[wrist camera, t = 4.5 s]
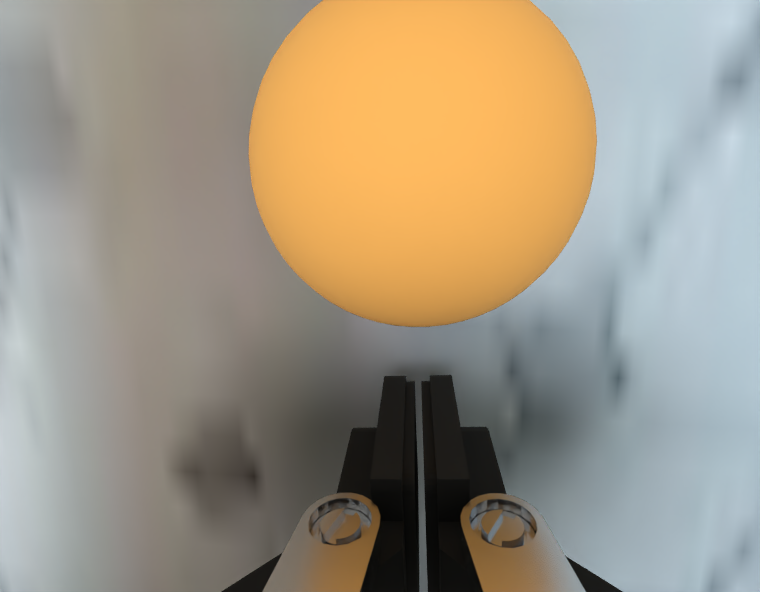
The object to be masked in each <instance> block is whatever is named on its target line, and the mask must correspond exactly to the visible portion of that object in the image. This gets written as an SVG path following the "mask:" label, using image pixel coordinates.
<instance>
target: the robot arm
mask: <svg viewBox="0 0 760 592" xmlns="http://www.w3.org/2000/svg"><path fill="white" fill-rule="evenodd" d="M421 385H422V416H423V448H424V480H425V512H426V544H427V575H428V592H622V591H621V590H619V589H617V588H616V587H614V586H613V585H611V584H609V583H608V582H606V581H605V580H603V579H601V578H600V577H598V576H597V575H595V574H593V573H592V572H590V571H588V570H587V569H585V568H584V567H582V566H580V565H579V564H577V563H576V562H574V561H572V560H571V559H569V558H568V557H566V556H565V555H564V553H563V551H562V549H561V548H560V546H559V544H558V542H557V541H556V539H555V537H554V535H553V534H552V532H551V530H550V528H549V527H548V525H547V523H546V521H545V520H544V518H543V517H542V515H541V514H540V513H539V512H538V510H537V509H536V508H535V507H533V506H532V505H531V504H529V503H528V502H526V501H524V500H522V499H520V498H518V497H515V496H511V495H507V494H506V491H505V488H504V484H503V480H502V477H501V473H500V470H499V466H498V463H497V459H496V455H495V452H494V448H493V445H492V441H491V437H490V434H489V431H488V428H487V427H460V421H459V416H458V410H457V404H456V399H455V393H454V387H453V382H452V376H451V375H433V376H430V381H421ZM222 592H419V514H418V464H417V436H416V408H415V382H406V376H385V377H384V383H383V390H382V397H381V404H380V411H379V418H378V425H377V428H353V429H352V432H351V436H350V440H349V444H348V448H347V452H346V457H345V461H344V465H343V469H342V474H341V478H340V482H339V486H338V491H337V493H336V494H331V495H328V496H325V497H323V498H321V499H319V500H317V501H316V502H314V503H313V504H312V505H310V506H309V507H308V508H307V510H306V511H305V512H304V514H303V515H302V517H301V519H300V521H299V523H298V524H297V526H296V528H295V530H294V532H293V534H292V536H291V538H290V540H289V542H288V544H287V546H286V547H285V549H284V551H283V553H282V554H280V555H278V556H277V557H275V558H274V559H272V560H271V561H269V562H267V563H266V564H264V565H263V566H261V567H259V568H258V569H256V570H255V571H253V572H252V573H250V574H248V575H247V576H245V577H244V578H242V579H241V580H239V581H237V582H236V583H234V584H233V585H231V586H230V587H228V588H226V589H225V590H223V591H222Z"/></svg>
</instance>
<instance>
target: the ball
mask: <svg viewBox="0 0 760 592" xmlns="http://www.w3.org/2000/svg"><path fill="white" fill-rule="evenodd" d="M596 144H597V136H596V120H595V113H594V108H593V104H592V99H591V94H590V91H589V87H588V84H587V82H586V79H585V76H584V74H583V71H582V68H581V66H580V63H579V61H578V59H577V57H576V55H575V54H574V52H573V50H572V48H571V47H570V45H569V43H568V41H567V40H566V38H565V37H564V36H563V35H562V33H561V32H560V31H559V30H558V28H557V27H556V26H555V24H554V23H553V22H552V21H551V19H549V18H548V17H547V16H546V15H545V14H544V13H543V12H542V11H541V10H540V9H538V8H537V7H536V6H535V5H534V4H533V3H532V2H531V1H530V0H323V1H321V2H320V3H319V4H318V5H317V6H315V7H314V8H313V9H312V10H311V11H309V12H308V13H307V14H306V15H305V17H304V18H303V19H302V20H301V21H300V22H299V23H298V24H297V25H296V27H295V28H294V29H293V30H292V31H291V32H290V33H289V34H288V36H287V37H286V38H285V40H284V41H283V43H282V44H281V46H280V47H279V49H278V50H277V52H276V53H275V55H274V56H273V58H272V60H271V62H270V64H269V67H268V69H267V71H266V73H265V75H264V77H263V79H262V82H261V85H260V88H259V92H258V95H257V98H256V101H255V105H254V109H253V114H252V120H251V127H250V133H249V163H250V172H251V181H252V187H253V191H254V196H255V200H256V204H257V207H258V210H259V212H260V215H261V218H262V220H263V223H264V225H265V227H266V229H267V231H268V233H269V235H270V237H271V239H272V240H273V242H274V244H275V246H276V248H277V249H278V251H279V252H280V254H281V255H282V257H283V258H284V259H285V261H286V262H287V264H288V265H289V266H290V267H291V268H292V269H293V270H294V271H295V273H296V274H297V275H298V276H299V277H300V278H301V279H302V280H303V281H305V282H306V283H307V284H308V285H309V286H310V287H311V288H312V289H314V290H315V291H316V292H317V293H318V294H320V295H321V296H323V297H324V298H326V299H327V300H328V301H330V302H331V303H333V304H335V305H337V306H338V307H340V308H342V309H344V310H346V311H348V312H350V313H353V314H355V315H358V316H360V317H362V318H366V319H369V320H372V321H376V322H380V323H385V324H390V325H396V326H407V327H430V326H439V325H447V324H452V323H456V322H461V321H465V320H468V319H471V318H474V317H477V316H480V315H482V314H484V313H487V312H489V311H491V310H494V309H496V308H497V307H499V306H501V305H503V304H504V303H506V302H508V301H510V300H511V299H513V298H514V297H515V296H517V295H518V294H520V293H521V292H522V291H524V290H525V289H526V288H527V287H528V286H530V285H531V284H532V283H533V282H534V281H535V280H536V279H537V278H538V277H540V276H541V275H542V274H543V273H544V272H545V271H546V270H547V269H548V267H549V266H550V265H551V264H552V263H553V262H554V261H555V259H556V258H557V257H558V256H559V254H560V253H561V251H562V250H563V248H564V247H565V245H566V244H567V242H568V241H569V239H570V237H571V235H572V233H573V231H574V229H575V227H576V226H577V224H578V222H579V220H580V217H581V215H582V213H583V210H584V207H585V205H586V202H587V199H588V197H589V193H590V189H591V184H592V180H593V175H594V168H595V156H596Z"/></svg>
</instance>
